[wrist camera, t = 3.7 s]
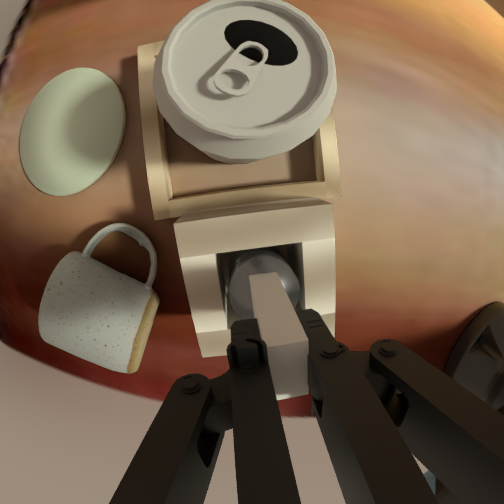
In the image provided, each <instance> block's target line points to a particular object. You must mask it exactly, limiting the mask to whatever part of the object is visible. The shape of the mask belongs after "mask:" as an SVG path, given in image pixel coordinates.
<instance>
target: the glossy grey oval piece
mask: <svg viewBox="0 0 504 504" xmlns="http://www.w3.org/2000/svg"><path fill="white" fill-rule="evenodd" d="M270 272H277V274H278V276H279V278H280V280H281V282H282V284H283V287H284V289H285V291H286V293H287V295H288V297H289V299H290V301H291V304H292V306H293V308H294V309H295V307H296V305H297V303H298V300H299V296H300V286H299V282H298V280H297V277H296V276H295V274H294V273H293V271H292V269H291V268H290V266H289V265H288V263H287V261H286V260H285V258H284V257H283V255H282V253H281V252H280V250H279V249H278V248H277V247H276V246H269V247H261V248H254V249H246V250H239V251H233V252H232V254H231V256H230V259H229V298H230V303H231V306H232V308H233V310H234V312H235V313H236V314H237V315H238V316H239V317H240V318H241V319H243V320H245V319H253V318H254V311H253V303H252V295H251V287H250V279H249V275H256V274H263V273H270Z"/></svg>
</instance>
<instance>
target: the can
mask: <svg viewBox="0 0 504 504" xmlns="http://www.w3.org/2000/svg"><path fill="white" fill-rule="evenodd" d="M152 87H153V91H154V94H155V98H156V101H157V104H158V108H159V111H160V113H161V114H162V115H163V117H164V118H165V119H166V121H167V122H168V123H169V125H170V126H171V127H172V129H173V130H174V131H175V132H176V134H178V135H179V136H180V137H182V138H183V139H185V140H186V141H188V142H189V143H190V144H192V145H193V146H195V147H196V148H197V149H199V150H200V151H202V152H203V153H205V154H206V155H208V156H209V157H211V158H212V159H214V160H217V161H221V162H224V163H227V164H247V163H250V162H254V161H257V160H260V159H263V158H267V157H270V156H273V155H277V154H280V153H283V152H287V151H290V150H291V149H293V148H294V147H296V146H297V145H299V144H300V143H302V142H304V141H305V140H307V139H308V138H310V137H311V136H313V135H314V134H315V132H316V131H317V130H318V128H319V127H320V126H321V125H322V123H323V122H324V121H325V119H326V118H327V117H328V116H329V114H330V111H331V108H332V105H333V102H334V98H335V95H336V92H337V83H336V66H335V63H334V54H333V51H332V49H331V47H330V44H329V42H328V40H327V38H326V35H325V33H324V32H323V31H322V30H321V29H320V28H319V27H318V25H317V24H316V23H315V22H314V21H313V20H312V19H311V18H310V17H309V16H308V15H307V14H305V13H304V12H302V11H300V10H299V9H297V8H296V7H294V6H292V5H291V4H289V3H287V2H284V1H281V0H210V1H208V2H206V3H204V4H202V5H200V6H198V7H196V8H195V9H193V10H191V11H189V12H188V13H187V14H186V15H185V16H184V17H183V18H182V19H181V20H180V21H179V22H178V23H177V24H176V25H175V26H174V27H173V28H172V30H171V31H170V33H169V35H168V37H167V38H166V39H165V41H164V43H163V45H162V47H161V49H160V51H159V54H158V56H157V58H156V60H155V62H154V73H153V86H152Z"/></svg>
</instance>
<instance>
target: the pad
mask: <svg viewBox="0 0 504 504" xmlns="http://www.w3.org/2000/svg"><path fill="white" fill-rule="evenodd" d="M125 124H126V110H125V103H124V99H123V96H122V94H121V92H120V90H119V88H118V86H117V85H116V84H115V82H114V81H113V80H112V79H110V78H109V77H108V76H106V75H105V74H104V73H102V72H100V71H98V70H95V69H92V68H75V69H71V70H68V71H66V72H63V73H61V74H59V75H58V76H56V77H55V78H53V79H52V80H50V81H49V82H48V83H47V84H46V85H45V86H44V87H43V88H42V89H41V90H40V91H39V92H38V94H37V95H36V96H35V98H34V99H33V101H32V103H31V104H30V106H29V108H28V110H27V113H26V115H25V118H24V121H23V124H22V128H21V133H20V156H21V161H22V165H23V168H24V170H25V172H26V174H27V176H28V178H29V179H30V181H31V182H32V183H33V184H34V185H35V186H36V187H37V188H38V189H39V190H41V191H43V192H45V193H47V194H50V195H55V196H65V195H70V194H75V193H78V192H81V191H83V190H85V189H87V188H89V187H90V186H92V185H93V184H94V183H96V182H97V181H98V180H99V179H100V178H101V177H102V176H103V175H104V174H105V172H106V171H107V170H108V169H109V167H110V166H111V164H112V163H113V161H114V159H115V157H116V156H117V153H118V151H119V149H120V146H121V143H122V140H123V136H124V132H125Z"/></svg>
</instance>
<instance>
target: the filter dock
mask: <svg viewBox="0 0 504 504" xmlns="http://www.w3.org/2000/svg"><path fill="white" fill-rule="evenodd" d="M164 41H165V40H163V41H159V42H155V43H150V44H146V45H143V46H139V47H138V79H139V98H140V112H141V124H142V135H143V144H144V153H145V161H146V169H147V176H148V183H149V190H150V197H151V203H152V209H153V215H154V221H155V220H161V219H167V218H173V217H180V216H181V217H180V218H179V219H178V220H177V221H176V222H175V223H174V224H173V225H174V231H175V236H176V242H177V247H178V252H179V258H180V263H181V268H182V272H183V277H184V282H185V287H186V291H187V296H188V300H189V305H190V309H191V313H192V318H193V322H194V326H195V330H196V334H197V338H198V342H199V346H200V349H201V353H202V357H212V356H221V355H227V352H226V349H227V346H228V345H229V344H230V343H231V330H230V327H231V326H232V324H233V323H234V321H238V320H243V319H241V318H240V317H239V316H238V315H237V314H236V313H235V312H234V310H233V308H232V306H231V303H230V298H229V259H230V256H231V254H232V252H233V251H239V250H246V249H254V248H261V247H269V246H276V247H277V248H278V249H279V250H280V252H281V253H282V255H283V257H284V258H285V260H286V261H287V263H288V265H289V266H290V268H291V269H292V271H293V273H294V274H295V276H296V277H297V280H298V282H299V286H300V296H299V300H298V303H297V305H296V307H295V309H294V310H295V311H299V310H305V309H311V308H312V309H313V310H315V311H317V312H318V313H319V314H320V316H321V317H322V319H323V320H324V322H325V324H326V325H327V327H328V329H329V330H330V332H331V334H332V335H333V337H334V332H335V232H334V211H333V204H332V203H329V202H326V201H323V200H320V199H325V198H337V197H341V182H340V170H339V159H338V149H337V139H336V131H335V123H334V115H333V108H331V111H330V114H329V116H328V117H327V118H326V119H325V121H324V122H323V123H322V125H321V126H320V127H319V128H318V130H317V131H316V132H315V134H314V135H313V136H312V141H313V150H314V160H315V170H316V181H304V182H293V183H283V184H273V185H263V186H255V187H246V188H238V189H230V190H223V191H216V192H209V193H202V194H195V195H189V196H182V197H176V198H173V192H172V185H171V178H170V171H169V163H168V155H167V147H166V138H165V129H164V118H163V115H162V114H161V113H160V111H159V108H158V104H157V101H156V98H155V94H154V91H153V87H152V86H153V73H154V62H155V60H156V58H157V56H158V54H159V51H160V49H161V47H162V45H163V43H164Z"/></svg>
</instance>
